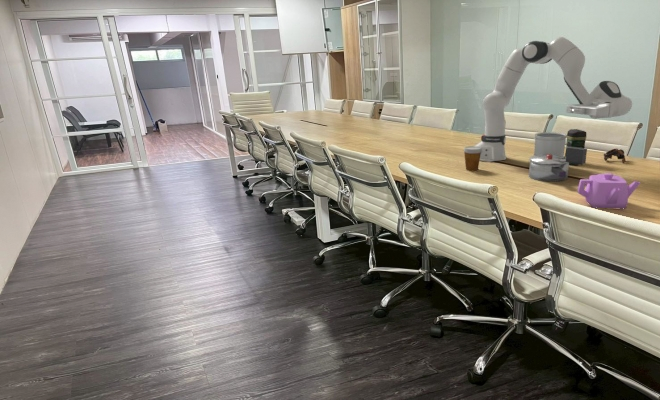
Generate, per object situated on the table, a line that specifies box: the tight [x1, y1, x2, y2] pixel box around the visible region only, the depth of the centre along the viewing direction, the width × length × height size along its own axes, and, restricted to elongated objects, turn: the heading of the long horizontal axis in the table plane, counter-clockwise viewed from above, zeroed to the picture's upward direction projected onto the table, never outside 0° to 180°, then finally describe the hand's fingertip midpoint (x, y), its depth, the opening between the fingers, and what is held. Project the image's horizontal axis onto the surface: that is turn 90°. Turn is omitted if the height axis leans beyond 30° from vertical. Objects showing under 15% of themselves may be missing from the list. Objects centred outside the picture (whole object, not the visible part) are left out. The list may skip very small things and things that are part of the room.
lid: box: [529, 147, 588, 165], centre depth 204 cm, size 25×18×8 cm
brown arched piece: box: [603, 147, 626, 164], centre depth 230 cm, size 12×10×8 cm
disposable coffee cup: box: [462, 145, 482, 172], centre depth 232 cm, size 10×10×12 cm
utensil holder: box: [533, 131, 567, 156], centre depth 226 cm, size 15×15×18 cm
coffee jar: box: [564, 128, 587, 166], centre depth 229 cm, size 10×8×19 cm
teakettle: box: [576, 172, 641, 210], centre depth 168 cm, size 17×17×12 cm
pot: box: [528, 160, 570, 182], centre depth 206 cm, size 31×17×8 cm, turn 171°
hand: (571, 111), depth 197 cm, fingers closed
